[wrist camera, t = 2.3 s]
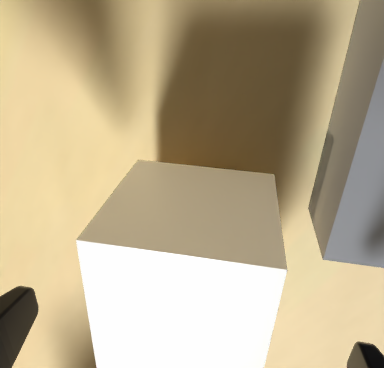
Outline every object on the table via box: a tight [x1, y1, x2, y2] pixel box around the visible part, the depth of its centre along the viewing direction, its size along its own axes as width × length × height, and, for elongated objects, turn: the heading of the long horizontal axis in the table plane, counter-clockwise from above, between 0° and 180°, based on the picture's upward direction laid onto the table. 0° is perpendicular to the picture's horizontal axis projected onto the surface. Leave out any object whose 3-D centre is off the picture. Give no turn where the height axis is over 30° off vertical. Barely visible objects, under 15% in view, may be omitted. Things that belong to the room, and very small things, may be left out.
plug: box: [76, 160, 287, 368], centre depth 11 cm, size 6×5×6 cm
